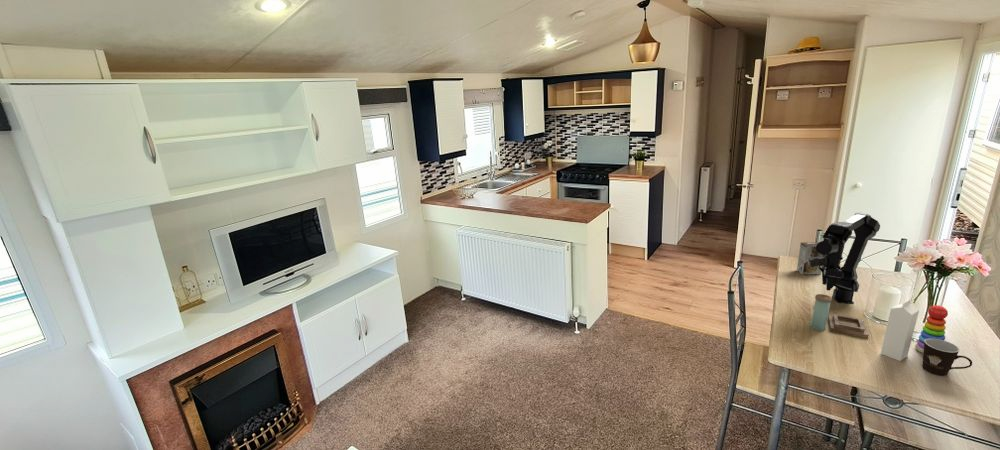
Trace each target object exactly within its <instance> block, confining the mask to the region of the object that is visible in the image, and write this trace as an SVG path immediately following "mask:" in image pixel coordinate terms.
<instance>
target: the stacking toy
mask: <svg viewBox="0 0 1000 450" xmlns="http://www.w3.org/2000/svg"><path fill="white" fill-rule="evenodd" d="M927 312H928V316H927V317H926V321H925V322H924V325H923V326H922V330H921V332H920V334H919V336H918V339H917V341H916V343H915V345H914V347H915V349H916V351H917V352H920V353H922V354H923V352H924V340H925V339H929V338H933V339H940V340H944V341H946V331H945V330H946V323H947V321H946V318H947V317H948V315H949V314H948V313H949V312H948V309H946V307H944V306H943V305H938V304H937V305H936V304H935V305H931V306H930V307H929V308H928V309H927Z"/></svg>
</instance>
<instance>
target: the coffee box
mask: <svg viewBox="0 0 1000 450" xmlns="http://www.w3.org/2000/svg"><path fill="white" fill-rule="evenodd" d="M819 242H820V241H815V242H812V241H811V242H808V241H807V242H800V246H799V253H798V259H797V265H796V271H797V272H798V271H799V273H800V274H801V275H802V274H813V275H814V274H817V276H818V275H821V276H822V271H821V270H820V269H819V268H818V267H819V266H814V267H810V265H809V262H808V258H811V257H820V256H823V255H822V254H820V253H818V251H817V250H816V245H817V244H818V243H819ZM820 267H821V266H820Z"/></svg>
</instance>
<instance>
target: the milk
mask: <svg viewBox="0 0 1000 450" xmlns="http://www.w3.org/2000/svg"><path fill="white" fill-rule="evenodd" d="M919 312H920V310H919V309H918V308H917V307H916V306H914V305H913V304H912V303H911V299H908V300H907V301H905V302H904V303H898V304H896V305H894V306H892V307H891V308H890V311H889V316H888V318H887V319H888V320H887V324H886V327H885V332H884V337H883V341H882V346H881V350H880V354H881V355H883V356H885V357H888V358H891V359H894V360H896V361H899V362H902V360H904V359H905V358H907V357H908V355H909V351H910V347H911V343H912V340H913V335H914V332H915V327H916V324H917V321H918V316H919V314H920V313H919Z"/></svg>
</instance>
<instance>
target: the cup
mask: <svg viewBox="0 0 1000 450" xmlns="http://www.w3.org/2000/svg"><path fill="white" fill-rule="evenodd" d="M814 299H815V301H814V307H813V310H812V311H813V312H812V317H811V323H810V328H811V329H813V330H816V331H820V332H823V331H825V330H826V328H827V324H828V323H827V322H828V317H829V313H830V307H831V303H832V300H833V297H832V296H829V295H827V294H821V293H818V294H815V296H814Z"/></svg>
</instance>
